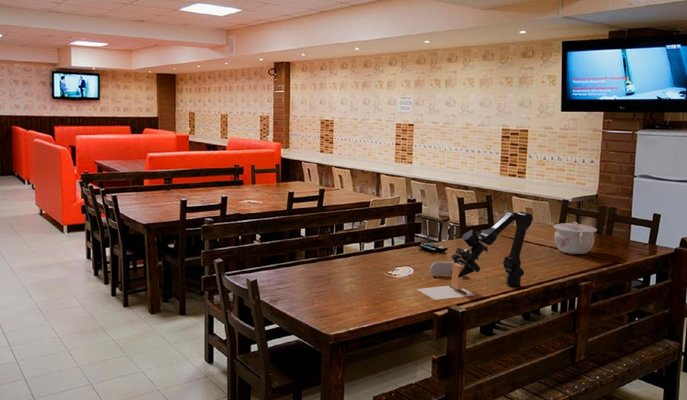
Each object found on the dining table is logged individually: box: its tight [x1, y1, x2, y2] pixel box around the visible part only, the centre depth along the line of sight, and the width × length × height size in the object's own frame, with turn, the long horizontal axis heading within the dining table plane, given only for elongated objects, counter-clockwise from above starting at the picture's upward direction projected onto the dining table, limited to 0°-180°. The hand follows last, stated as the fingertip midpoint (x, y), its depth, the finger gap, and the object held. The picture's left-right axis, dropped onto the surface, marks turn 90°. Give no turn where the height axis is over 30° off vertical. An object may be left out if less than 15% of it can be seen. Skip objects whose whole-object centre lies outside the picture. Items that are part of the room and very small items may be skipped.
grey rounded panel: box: [429, 261, 464, 278], centre depth 335 cm, size 20×2×8 cm, turn 96°
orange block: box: [450, 263, 464, 290], centre depth 306 cm, size 3×6×12 cm, turn 23°
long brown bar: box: [448, 284, 467, 295], centre depth 308 cm, size 1×14×1 cm, turn 23°
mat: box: [416, 285, 476, 301], centre depth 305 cm, size 24×18×1 cm
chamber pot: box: [552, 221, 598, 255], centre depth 400 cm, size 28×28×21 cm
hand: (455, 275), depth 306 cm, fingers closed on orange block, 6 cm apart
